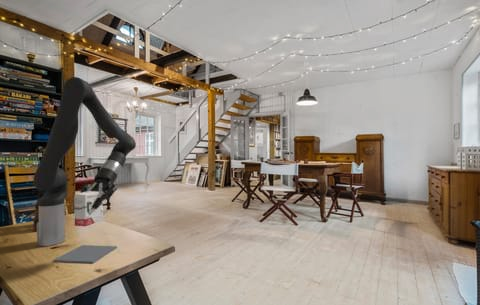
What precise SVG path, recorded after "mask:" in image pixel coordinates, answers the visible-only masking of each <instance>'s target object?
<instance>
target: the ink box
mask: <svg viewBox="0 0 480 305" xmlns="http://www.w3.org/2000/svg"><path fill="white" fill-rule="evenodd" d="M99 193H100V192H98V191H88V192H83V193H80V192H78V193H75V194H74V226H75V227H88V226H90V225H93V224H96V223H98V222H99V223H100V222H102V221H104V216H103V215H104V213H103V212H104V210H103V208H104V207H103V204H104V203H103V201H102V203H101V204H100V206H99V207H98V208H97V209H94V208H93V204H94V202H95V201H96V199H97V198H99V197H98V195H99Z"/></svg>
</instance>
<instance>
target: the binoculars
mask: <svg viewBox="0 0 480 305" xmlns="http://www.w3.org/2000/svg"><path fill="white" fill-rule="evenodd" d="M45 192H46V190H45V191H42V190H38V194H37V196H38V198H37V200H36V202H35V205H34V207H35V209H34V216H33V217H34V218H33V222H32V223H33V227H32V232H34V233H37V223H38V222H39V204H38V202H39V199H40V198H41V197H43V196H44V194H45Z"/></svg>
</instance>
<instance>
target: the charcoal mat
mask: <svg viewBox="0 0 480 305" xmlns="http://www.w3.org/2000/svg"><path fill="white" fill-rule="evenodd" d="M117 248H118V246H117V245H89V244H88V245H87V244H81V245H80V246H77V247H75V248H74V249H72V250H70V251H68V252H66V253H64V254H62V255H60V256H59V257H56V258H55V259H53V260H52V262H54V263H55V262H56V263H57V262H58V263H75V264H95V263H96V262H98V261H99V260H101V259H102V258H104V257H106V256H107V255H108V254H110V253H111V252H113V251H114V250H116V249H117Z"/></svg>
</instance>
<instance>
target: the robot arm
mask: <svg viewBox="0 0 480 305" xmlns="http://www.w3.org/2000/svg"><path fill="white" fill-rule="evenodd" d="M81 104H82V105H84V107H85V108H87V110H88V111H89V112H90V114H91V116H92V117H93V119H94V120H95V123H96V124H97V126H98V127H99V129H101V131H102V133H104V134H105V136H106V138H109V139H110V140H111V139H112V140H113V139H116V140H117V142H116V143H115V144H114V146H113V148H112V150H111V152H110V154H109V156H108V157H107V159H106V161H104V163H103V164H102V165H101V167H100V168H99V169H98V171H97V173H96V174H95V175H94V179H93V181H92V182H91V183H89V184H88V183H86V182H85V183H83V185H82V187H81V190H80V192H79V193H83V192H88V191H98V192H100V193H99V195H98V197H99V198H97V199H96V201H95V202H94V204H93V208H94V209H97V208H98V207H99V206H100V204H101V203H102V201H105V200H110V199H111V197H112V196H113V194H114V193H115V192H116V191H117V189H118V187H117V185H115V182H116V181H117V178H119V175H120V173H121V170H122V168H123V167H124V165H125V163H126V161H127V156H128V154H129V153H131V152H132V151H133V150H134V149H135V148H136V147H137V145H136V144H137V143H136V140H135V139H134V137H133V136H131V135H130V134H129V133H127V132H126V131H125V130H124V129H122V128H121V127H120V125H119V124H118V123H117V122H116V120H115V119H114V118H113V117H112V115H111V114H110V113H109V112H108V110H106V108H105V106H104V105H103V104H102V102H101V101H100V99H99V97H98V96H97V94H96V92H95V91H94V88H93V87H92V85H91V84H90V83H89V82H87V81H86V80H85V79H82V78H80V77H76V76H73V77H69V78H68V79H66V80H65V82H64V83H63V87H62V92H61V98H60V103H59V107H58V110H57V112H56V116H55V120H54V122H53V124H52V127H51V130H50V134H49V138H48V141H47V143H46V146H45V150H44V153H43V156H42V157H41V160H40V162H39V164H38V167H37V168H36V170H35V172H34V176H33V180H32V182H33V185H34V188H35V189H36V190H38V191H39V190H42V191H45V190H46V192H45V194H44V196H43V197H41V198H40V199H39V202H38V204H39V222H38V223H37V232H36V245H38V246H40V247H49V246H54V245H59V244H61V243H63V242H65V241H66V209H65V208H66V207H65V205H66V204H65V201H66V200H65V199H66V197H67V195H68V194H67V192H68V175H67V174H66V172H65V170H64V169H62V168H60V167H59V166H60V165H61V164H60V163H61V162H62V160H63V158H64V157H65V156H66V155H67V153H69V151H70V150H71V149H72V148H73V146H74V144H75V141H76V138H77V135H78V132H79V112H80V108H81Z"/></svg>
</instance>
